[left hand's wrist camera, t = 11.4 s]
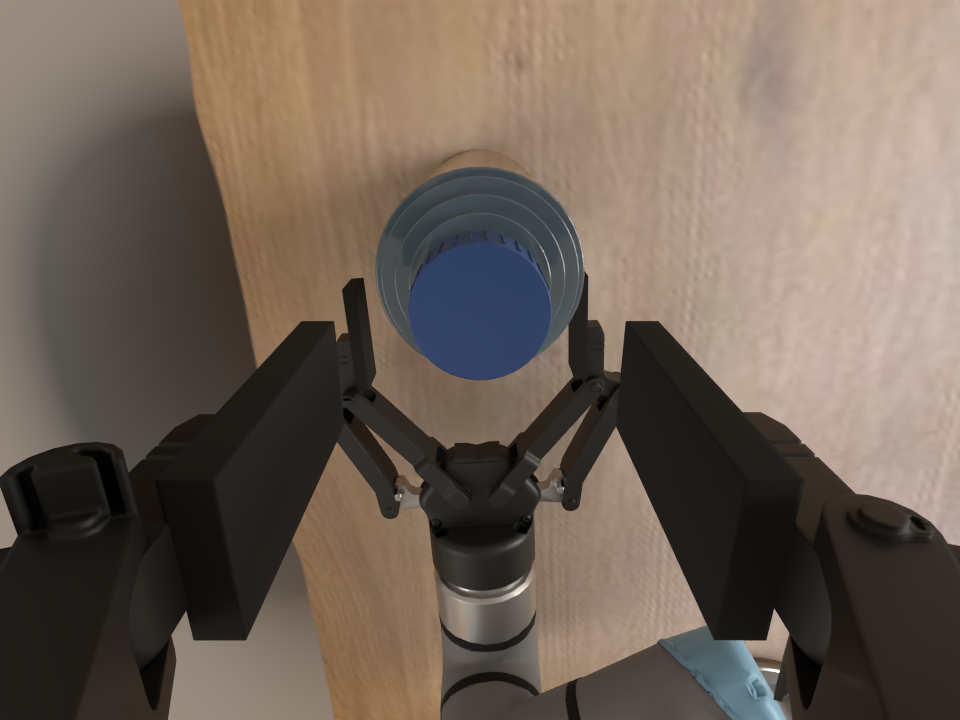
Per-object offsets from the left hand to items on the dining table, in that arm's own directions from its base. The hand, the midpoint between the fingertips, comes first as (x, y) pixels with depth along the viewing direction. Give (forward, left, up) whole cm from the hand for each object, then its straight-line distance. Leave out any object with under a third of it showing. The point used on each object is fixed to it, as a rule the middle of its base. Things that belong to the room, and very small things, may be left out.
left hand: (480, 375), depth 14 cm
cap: (0, 0, -5) cm, 5 cm away
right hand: (+3, -1, -22) cm, 22 cm away
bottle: (0, 0, -28) cm, 28 cm away
